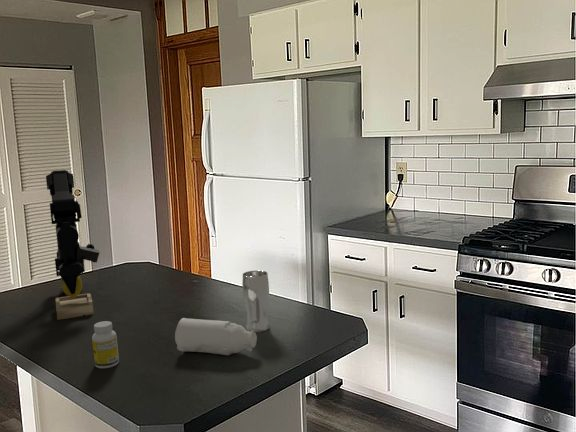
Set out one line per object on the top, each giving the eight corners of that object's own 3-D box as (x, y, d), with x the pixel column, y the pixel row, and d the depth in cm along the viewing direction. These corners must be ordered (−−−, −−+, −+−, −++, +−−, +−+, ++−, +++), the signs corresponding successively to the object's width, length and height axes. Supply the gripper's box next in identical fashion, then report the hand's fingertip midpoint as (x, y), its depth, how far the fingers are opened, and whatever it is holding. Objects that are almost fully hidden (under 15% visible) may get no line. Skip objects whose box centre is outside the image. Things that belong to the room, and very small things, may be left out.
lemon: (77, 301, 167) (74, 274, 166) (60, 300, 168) (57, 274, 167) (87, 295, 173) (84, 269, 171) (70, 295, 174) (68, 269, 172)
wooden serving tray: (56, 309, 174) (55, 298, 173) (91, 304, 178) (90, 293, 177) (57, 319, 165) (56, 307, 164) (93, 314, 168) (92, 301, 168)
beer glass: (274, 324, 153) (272, 270, 151) (265, 334, 147) (262, 277, 144) (250, 322, 156) (248, 269, 153) (240, 331, 149) (237, 276, 147)
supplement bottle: (98, 360, 134) (94, 320, 133) (121, 358, 135) (117, 319, 133) (92, 370, 129) (88, 328, 128) (116, 368, 130) (112, 327, 128)
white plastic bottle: (248, 363, 129) (247, 330, 128) (174, 356, 135) (172, 324, 134) (261, 350, 137) (259, 318, 136) (190, 343, 143) (188, 313, 141)
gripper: (98, 242, 162) (103, 295, 165) (93, 232, 179) (98, 280, 182) (56, 247, 158) (62, 301, 160) (55, 236, 175) (61, 285, 177)
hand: (72, 291), depth 170 cm, fingers closed on lemon, 5 cm apart
